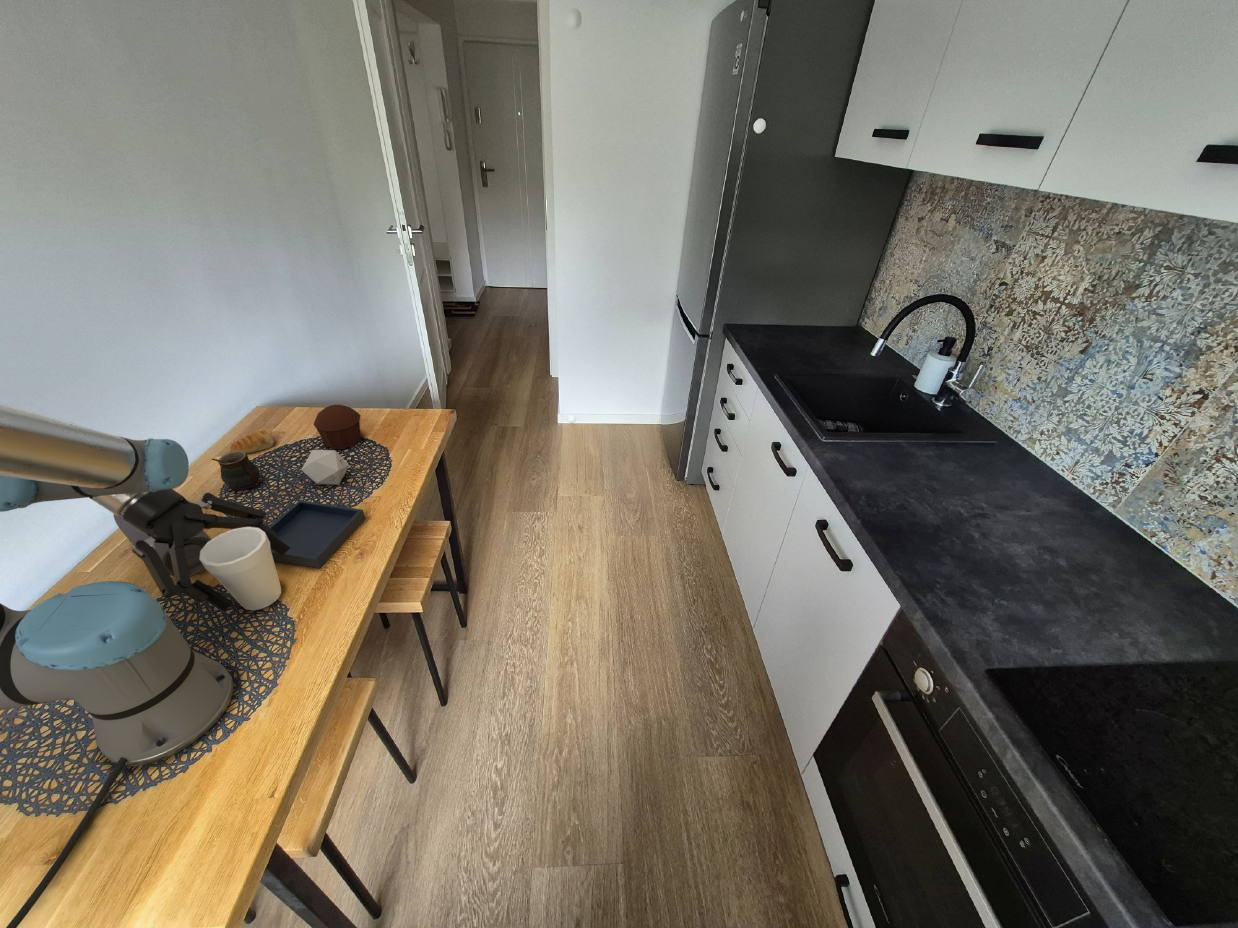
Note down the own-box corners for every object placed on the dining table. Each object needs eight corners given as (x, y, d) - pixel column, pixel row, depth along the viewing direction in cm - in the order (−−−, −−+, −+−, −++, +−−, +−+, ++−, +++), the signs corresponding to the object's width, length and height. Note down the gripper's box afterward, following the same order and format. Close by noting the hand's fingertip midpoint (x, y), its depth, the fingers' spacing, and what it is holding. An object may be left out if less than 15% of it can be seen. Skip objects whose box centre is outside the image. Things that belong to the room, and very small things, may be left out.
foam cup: (301, 591, 92) (276, 540, 85) (248, 625, 86) (217, 574, 78) (273, 570, 96) (247, 520, 89) (221, 601, 90) (188, 549, 82)
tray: (319, 568, 97) (315, 559, 96) (250, 556, 99) (244, 547, 98) (365, 518, 110) (362, 509, 108) (303, 508, 112) (299, 499, 110)
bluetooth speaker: (230, 562, 98) (208, 524, 92) (174, 592, 91) (147, 553, 85) (179, 517, 107) (156, 481, 102) (126, 542, 101) (98, 504, 95)
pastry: (237, 459, 126) (231, 447, 124) (228, 450, 130) (222, 437, 127) (277, 445, 132) (272, 433, 130) (267, 436, 136) (262, 424, 133)
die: (324, 499, 116) (343, 464, 114) (288, 479, 114) (307, 443, 112) (342, 488, 124) (360, 456, 122) (309, 470, 123) (327, 436, 121)
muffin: (315, 438, 136) (303, 406, 130) (357, 426, 142) (347, 394, 136) (329, 457, 129) (318, 424, 123) (373, 443, 135) (363, 410, 129)
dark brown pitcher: (271, 478, 120) (255, 443, 115) (246, 496, 114) (228, 461, 108) (244, 474, 121) (228, 439, 116) (219, 492, 115) (200, 457, 109)
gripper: (65, 541, 69) (207, 627, 76) (213, 449, 89) (315, 523, 96) (56, 562, 73) (193, 643, 80) (200, 469, 93) (299, 539, 100)
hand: (260, 577), depth 88 cm, fingers open, 12 cm apart
